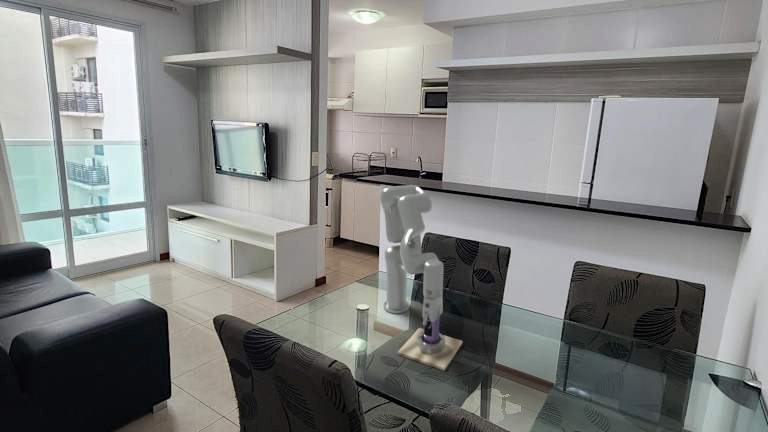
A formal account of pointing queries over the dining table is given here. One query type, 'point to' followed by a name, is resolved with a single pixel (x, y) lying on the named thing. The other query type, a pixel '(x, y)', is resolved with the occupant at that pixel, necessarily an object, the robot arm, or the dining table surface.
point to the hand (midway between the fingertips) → (431, 330)
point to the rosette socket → (430, 350)
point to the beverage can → (433, 332)
